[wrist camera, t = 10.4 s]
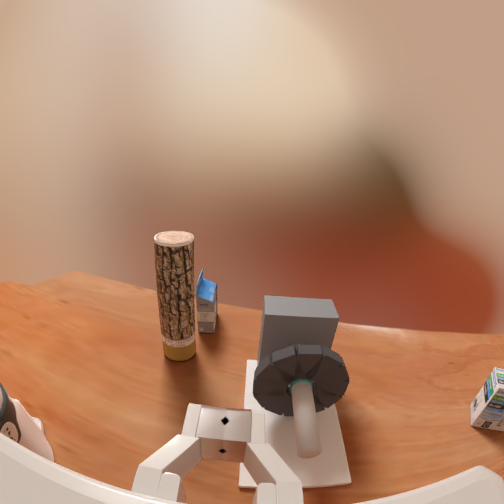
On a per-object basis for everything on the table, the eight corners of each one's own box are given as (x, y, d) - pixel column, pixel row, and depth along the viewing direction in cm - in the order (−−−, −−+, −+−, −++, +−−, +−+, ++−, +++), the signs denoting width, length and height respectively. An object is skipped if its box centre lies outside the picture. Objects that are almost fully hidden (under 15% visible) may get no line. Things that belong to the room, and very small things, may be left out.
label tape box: (214, 334, 64) (214, 286, 60) (196, 332, 64) (195, 285, 60) (217, 313, 72) (218, 268, 68) (201, 311, 72) (201, 267, 68)
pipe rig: (238, 487, 30) (245, 432, 24) (247, 362, 56) (253, 294, 50) (349, 484, 30) (394, 425, 24) (324, 365, 56) (342, 300, 50)
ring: (250, 414, 41) (257, 351, 36) (250, 405, 43) (257, 342, 38) (334, 415, 41) (359, 354, 36) (332, 406, 43) (356, 345, 38)
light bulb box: (469, 426, 36) (498, 388, 32) (469, 404, 41) (493, 365, 37) (506, 432, 31) (535, 395, 27) (504, 410, 36) (529, 374, 32)
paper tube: (202, 355, 57) (201, 239, 48) (174, 367, 53) (165, 246, 44) (184, 338, 62) (181, 228, 53) (158, 348, 57) (147, 234, 48)
